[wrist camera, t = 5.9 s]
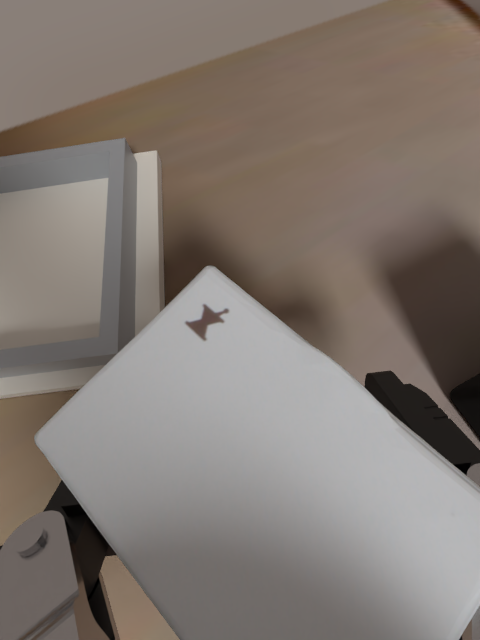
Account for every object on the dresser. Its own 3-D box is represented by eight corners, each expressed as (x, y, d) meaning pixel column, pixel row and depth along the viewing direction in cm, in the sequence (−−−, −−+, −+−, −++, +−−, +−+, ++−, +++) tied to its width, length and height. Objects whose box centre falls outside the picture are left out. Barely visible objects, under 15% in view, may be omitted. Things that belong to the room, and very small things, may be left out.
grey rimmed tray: (-94, 410, 17) (-164, 408, 14) (-34, 190, 23) (-76, 158, 20) (166, 377, 16) (146, 369, 14) (161, 161, 22) (146, 124, 19)
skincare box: (192, 421, 16) (14, 429, 4) (244, 364, 16) (209, 249, 5) (275, 510, 14) (337, 901, 3) (329, 442, 15) (548, 522, 4)
